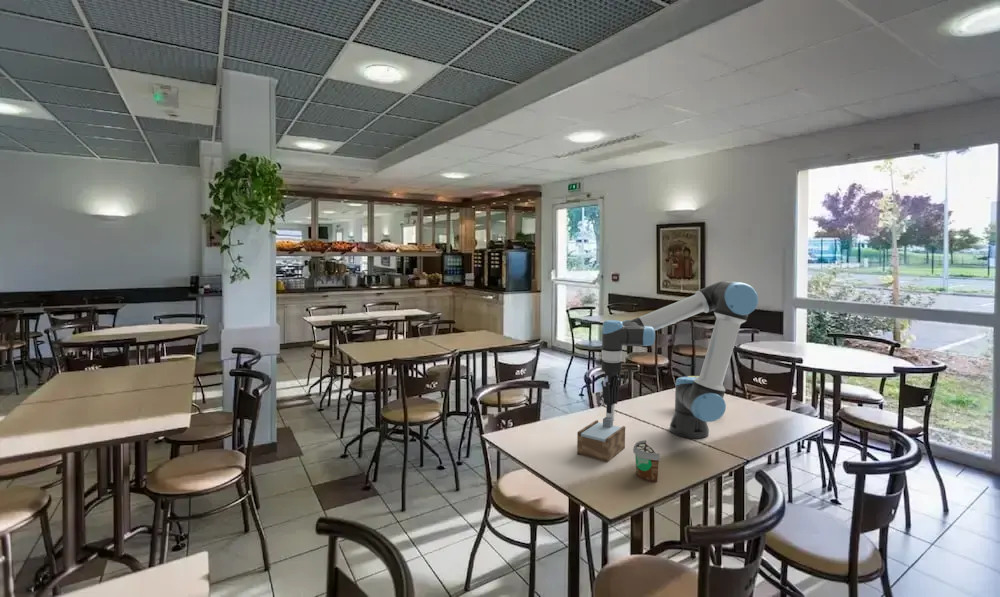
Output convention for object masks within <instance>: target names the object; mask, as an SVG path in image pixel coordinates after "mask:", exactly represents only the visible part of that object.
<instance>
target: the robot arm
mask: <svg viewBox="0 0 1000 597" xmlns="http://www.w3.org/2000/svg"><path fill="white" fill-rule="evenodd" d="M758 303H759V295H758V293H757V292H756V290H755V289H754V287H753V286H752V285H750V284H749V283H748V284H747V283H745V282H740V281H731V280H721V281H718V282H715V283H713V284H710V285H708V286H706V287H704V288H700V289H699V290H696V291H695V294H693V295H691V296H688V297H686V298H683V299H681V300H678V301H676V302H674V303H671V304H668V305H666V306H663V307H661V308H658V309H656V310H653V311H651V312H649V313H646V314H644V315H641V316H639V317H635V318H634V319H631V320H630V319H629V320H627V319H626V320H623V321H621V320H614V319H610V320H609V319H608V320H604V321H603V322H602V329H601V331H602V332H601V334H602V335H601V338H602V340H601V351H600V352H601V359H602V361H601V371H602V372H604V380H602V381H601V382H600V384H601V389H602V398H603V405H606V410H605V417H607V418H612V419H613V422H614V421H615V405H617V404H618V399H619V398H618V396H619V390H620V389H619V387H620V382H621V377H622V376H621V375H619V373H620V372H622V366H623V365H622V364H623V363H622V360H623V346H624V347H625V346H626V347H627V346H633V347H635V346H636V347H649V346H650V347H651V346H653V345H654V344H655V340H656V332H655V331H658V330H661V329H662V328H665V327H668V326H670V325H672V324H673V325H674V324H675V323H678V322H680V321H681V322H682V321H683V320H686V319H688V318H690V317H693V316H695V315H698V314H701V313H705V314H707V313H710V312H712V311H713V314H714V316H715V318H716V320H715V322H714V326H713V329H712V333H711V336H710V339H709V343H708V346H707V350H706V353H705V357H704V360H703V363H702V367H701V370H700V373H699V375H698V376H699V378H697V377H684V376H681V377H680V376H679V377H678V378H676V380H675V386H674V387H675V391H674V392H675V394H674V395H675V398H674V399H675V400H674V413H673V415H672V418H671V421H670V424H669V431H670V432H671V433H672V434H674V435H676V436H678V437H682V438H688V439H703V438H707V437H708V436H709V434H710V433H709V432H710V429H709V425H708V423H712V422H715V421H717V420H720V419H721V418H722V417H723V416H724V414H725V413H726V412H725V411H726V409H727V408H726V407H727V405H726V404H727V403H726V401H725V400H724V396H725V392H726V388H725V385H724V386H723V381H724V382H725V377H726V374H727V371H728V367H729V364H730V361H731V358H732V354H733V351H734V348H735V344H736V342H737V338H738V334H739V331H740V328H741V325H742V324H744V323H746V322H747V321H748V317H749V315H750V314H751V313H752V312H754V311H755V310H756V308H757V306H758Z"/></svg>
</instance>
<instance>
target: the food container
mask: <svg viewBox="0 0 1000 597" xmlns="http://www.w3.org/2000/svg"><path fill="white" fill-rule="evenodd" d="M632 452H633V453H634V455H635V458H634V459H635V474H636V477H637V478H639V479H640V480H642V481H645V482H651V483H657V482H658V474H659V462H660V461H661V460H660V459H661V458H660V453H656V452H655V451H654V449H653V448H652V447H651V446H649V445H648V444H647V440H646V439H645V440H639V441H637V442H636V443H635V444H634V445H633V450H632Z"/></svg>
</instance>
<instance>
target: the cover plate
mask: <svg viewBox="0 0 1000 597" xmlns="http://www.w3.org/2000/svg"><path fill="white" fill-rule="evenodd" d="M621 427H622V426H616V425H614V421H613V419H612V418H607V417H606V416H605V417H604V418H602V422H599V421H598V423H596V424H595V425H593V426H592V427H590V428H589V429H587V430H586V431H584V432H582V433H581V436H582V437H586V438H590V439H595V440H599V441H603V442H606V438H607V437H609V436H610V435H612V434H613V433H614V432H616V431H617V430H619V429H620V428H621Z"/></svg>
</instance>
